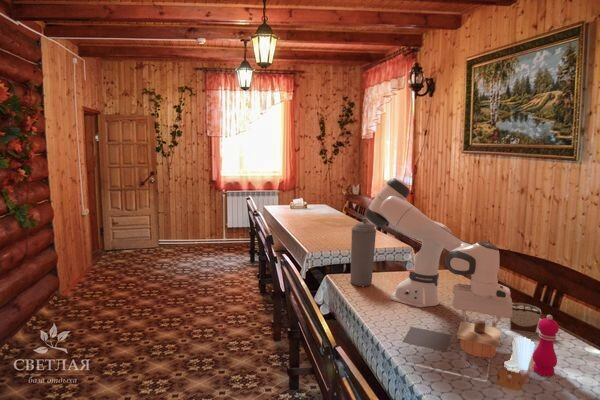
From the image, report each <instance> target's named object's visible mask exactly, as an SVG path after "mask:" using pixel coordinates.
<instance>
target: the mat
mask: <svg viewBox="0 0 600 400" xmlns="http://www.w3.org/2000/svg"><path fill="white" fill-rule="evenodd" d="M452 336H453V335H452V334H450V333H445V332H440V331H434V330H429V329H425V328H419V327H414V326H410V327H409V329H408V331H407V333H406V335H405V336H404V338H403V340H402V343H405V344H409V345H414V346H416V347H423V348H427V349H432V350H435V351H436V350H437V351H440V352H445V353H447V352H448V349H449V346H450V343H451V340H452Z"/></svg>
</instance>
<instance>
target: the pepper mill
mask: <svg viewBox="0 0 600 400" xmlns="http://www.w3.org/2000/svg"><path fill="white" fill-rule="evenodd" d="M537 329H538V330H539V332H538V337H539V343H538V345H537V347H536V348H535V350H534V352H533V353H532V360H533V362H534V363H533V365H532V371H533V372H534V373H535V374H538V375H539V376H543V377H553V376H554V375H555V367H556V366H557V364H558V357H557V354H556V351H555V345H554V344H555V341H556V339H557V335H556V334H558V332H559V331H560V330H559V329H560V326H559V324H558V322H557V321H556V320H554V317H553V315H551V314H546V318H542V319H539V322H538V326H537Z"/></svg>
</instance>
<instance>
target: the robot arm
mask: <svg viewBox="0 0 600 400" xmlns="http://www.w3.org/2000/svg"><path fill="white" fill-rule="evenodd" d="M409 195H410V188H409V187H408V184H407V183H406V182H405V181H403V180H402V179H400V178H399V179H398V178H395V177H394V178H391V179H389V180H388V181H387V182H386V184H385V185H384V186H383V187H382V188H380V190H379V191H378V193H376V195H375V197H374V199H372V201H371V203H370V205H369V206H368V207H367V208H366V210H365V212H364V215H365V218H367V219H366V220H367V221H368V223H371V224H372V225H373V227H374V226H375V227H377V228H384V227H385V226H386V225H389V224H390V225H391V226H392V227H394V228H395V229H396V230H397V231H399V233H401V234H403V236H407V237H409V238H410V239H414V240H416V241H419V242H421V247H420V250H419V251H418V252H416V253H415V255H414V259H413V268H410V270H409V272H408V277H407V278H405V279H404V280H402V281H400V282H399V283H398V284H397V286H396V288H395V290H394V291H392V292H391V294H390V296H389V297H390V300H392V301H395V302H398V303H403V304H405V305H409V306H413V307H417V308H425V307H426V308H427V307H434V306H437V305H439V304H440V299H439V292H438V285H439V282H440V281H439V280H440V279H439V278H440V275H439V265H440V258H441V254H442V253H443V250H444V249H445V250H447V251H448V252H447V254H446V256H445V260H444V263H445V266H446V268H447V270H448V271H449V272H450V273H452V274H453V275H457V276H471V277H470V284H463V283H457V284H454V285H453V287H452V294H453V299H452V303H451V306H452V307H453V308H454V309H456V310H461V314H462V315H463V317H464V318H463V322H469V321H470V316H468V315H467V312H474V313H477V314H484V315H489V316H495V317H496V319H495V320H492V321H491V322H492V324H491V327H495V328H497V325H498V323H499V321H501V318H506V319H510V317H511V316H512V304H513V302H512V301H513V300H512V297H511V289H510V288H509V287H508V286H505V285H502V284H500V283H498V281H499V279H498V273H499V271H500V251H499V250H500V249H499V248H498V247H497V246H496V245H494V244H493V243H491V242H487V241H477V242H476V243H473V242H469V241H465V240H463V239H461V238H459V237H458V236H457V235H455V234H453V233H452V230H451V228H449V226H446V225H445V224H443V223H441V222H438V221H435V220H432V219H431V218H429V217H428V216H427V215H425V214H424V213H423V212H422V211H420V209H418V208H417V207H416V206H414V205H413V204H412V203H410V202H409V201H408V200H407V199H408V196H409ZM469 323H470V322H469Z"/></svg>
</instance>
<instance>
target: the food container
mask: <svg viewBox="0 0 600 400" xmlns="http://www.w3.org/2000/svg"><path fill="white" fill-rule="evenodd" d="M541 316H543V313H542V310H541V308H539V307H537V306H534V305H532V304H528V303H523V302H515V303H513V302H512V316H511V317H510V318H509V325H510V327H509V328H510V329H509V330H511V331H515V332H521V333H529V334H535V335H536V334H537V331H538V324H539V322H540V317H541Z"/></svg>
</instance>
